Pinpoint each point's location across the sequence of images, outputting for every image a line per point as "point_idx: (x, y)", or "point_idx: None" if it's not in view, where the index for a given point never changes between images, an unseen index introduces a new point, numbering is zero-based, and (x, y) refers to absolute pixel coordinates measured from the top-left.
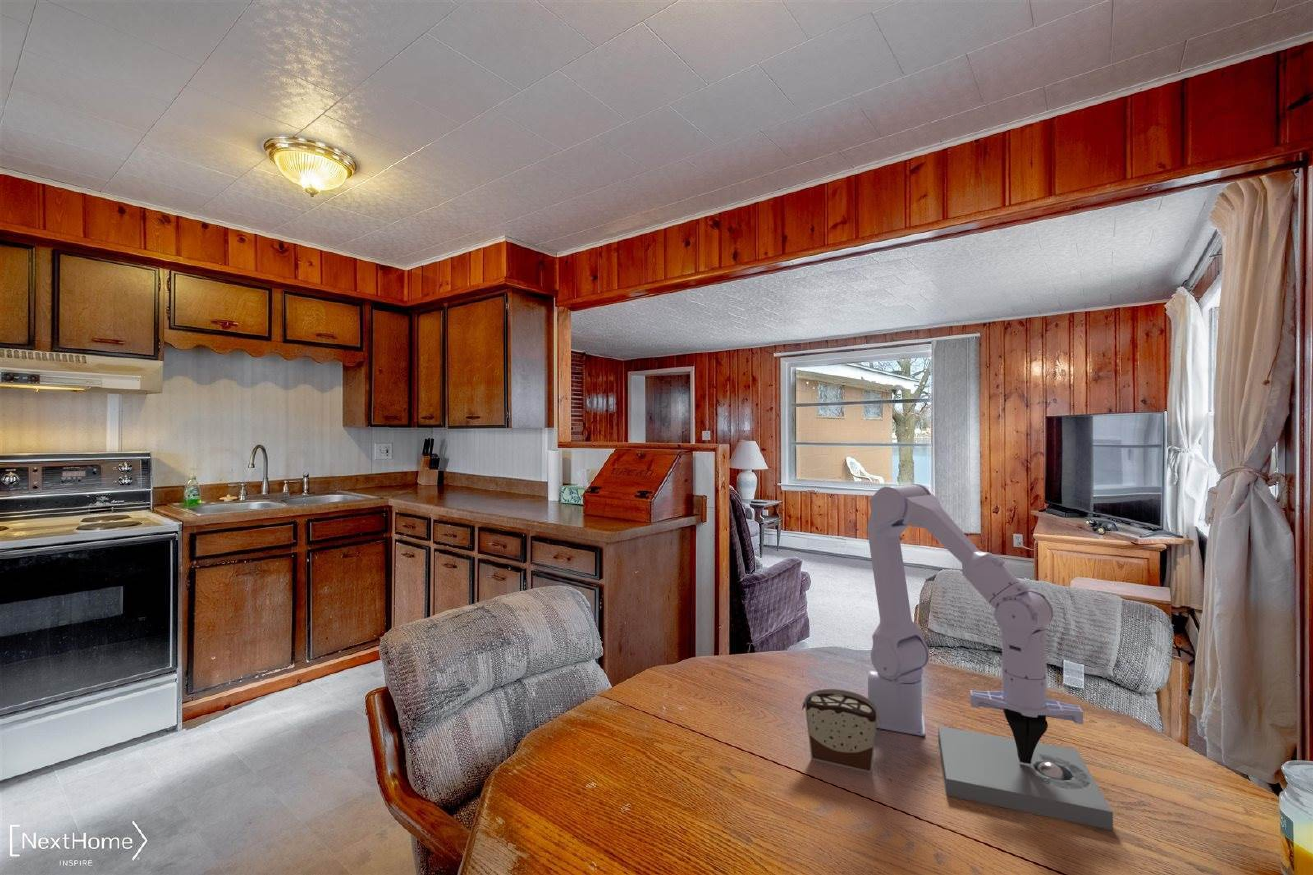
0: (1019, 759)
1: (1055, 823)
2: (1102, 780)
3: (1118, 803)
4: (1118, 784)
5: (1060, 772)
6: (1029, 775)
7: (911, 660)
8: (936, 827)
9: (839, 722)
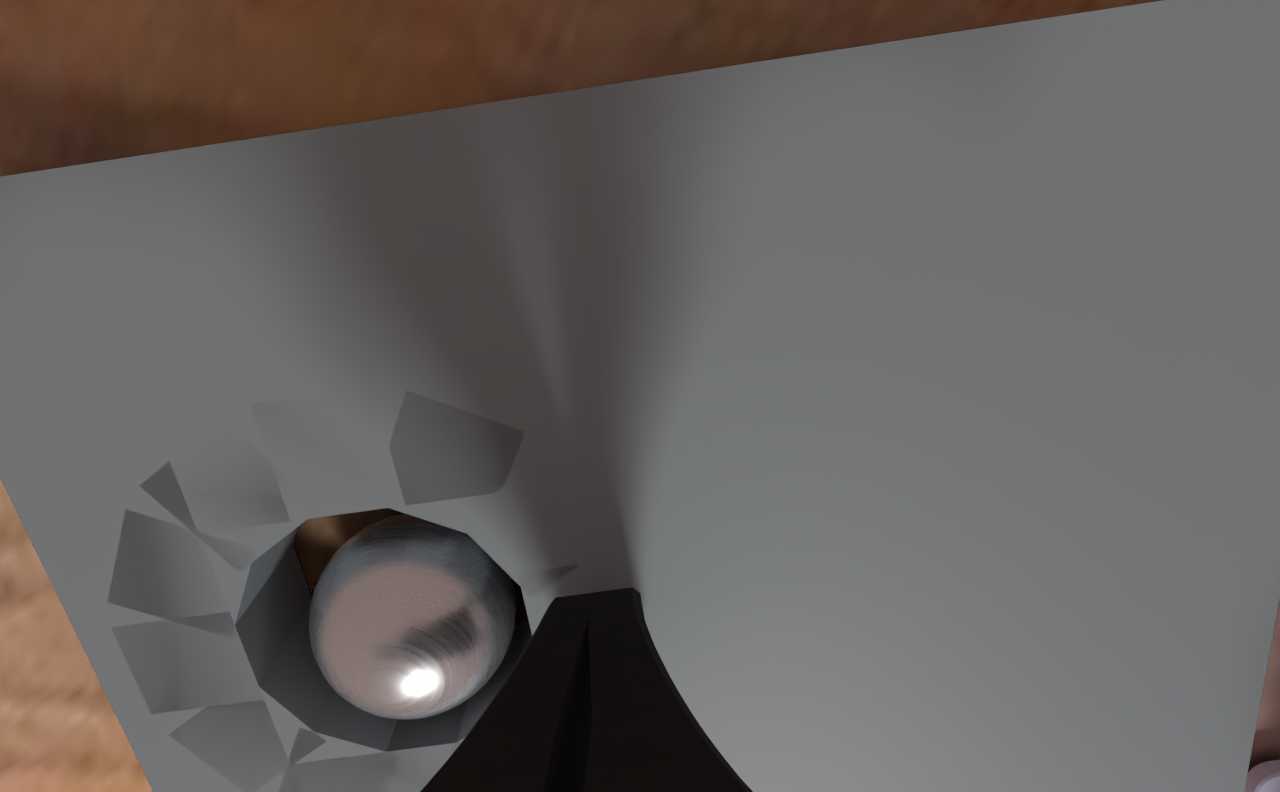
0: (644, 617)
1: (390, 41)
2: (145, 780)
3: (24, 568)
4: (56, 781)
5: (321, 620)
6: (566, 469)
7: None
8: None
9: None
